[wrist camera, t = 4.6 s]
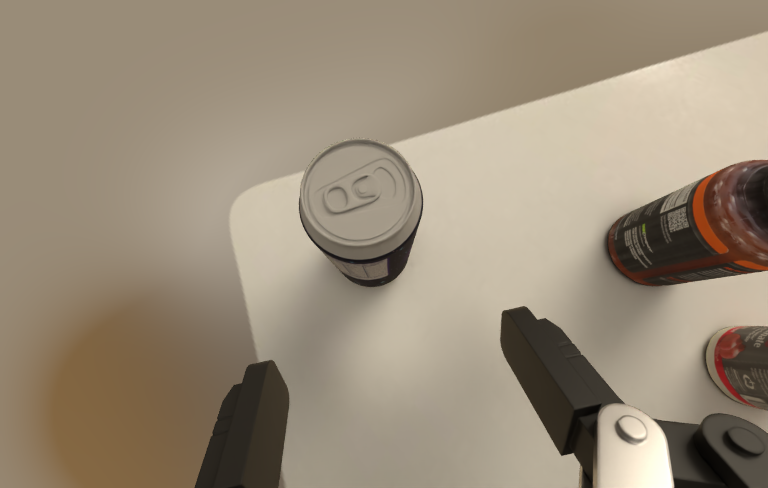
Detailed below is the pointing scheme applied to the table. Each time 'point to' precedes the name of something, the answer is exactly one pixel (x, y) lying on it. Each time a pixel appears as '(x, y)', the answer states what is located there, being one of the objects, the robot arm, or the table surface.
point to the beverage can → (362, 209)
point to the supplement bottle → (698, 230)
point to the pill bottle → (741, 364)
